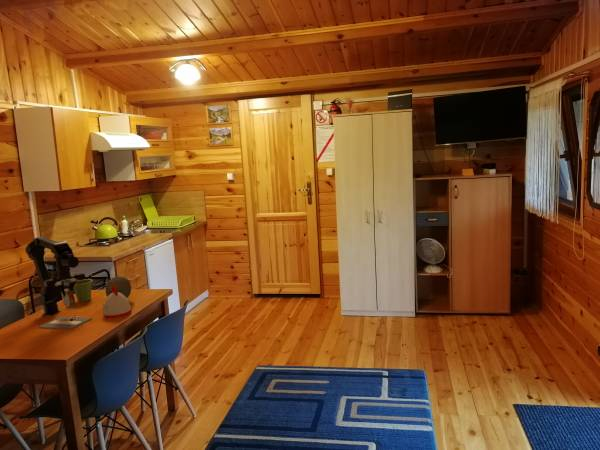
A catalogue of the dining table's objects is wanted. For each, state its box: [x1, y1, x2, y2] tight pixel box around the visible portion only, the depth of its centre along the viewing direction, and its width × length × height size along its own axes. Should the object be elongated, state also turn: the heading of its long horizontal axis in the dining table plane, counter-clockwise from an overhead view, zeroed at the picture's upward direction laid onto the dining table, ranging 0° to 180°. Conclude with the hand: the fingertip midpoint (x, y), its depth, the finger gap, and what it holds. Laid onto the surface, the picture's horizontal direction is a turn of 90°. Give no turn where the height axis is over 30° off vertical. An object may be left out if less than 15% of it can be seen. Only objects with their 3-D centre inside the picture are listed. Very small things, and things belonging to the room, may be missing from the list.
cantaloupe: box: [105, 276, 132, 299], centre depth 265 cm, size 14×14×15 cm
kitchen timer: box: [102, 286, 132, 319], centre depth 246 cm, size 14×14×15 cm
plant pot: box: [73, 278, 94, 303], centre depth 275 cm, size 12×12×11 cm
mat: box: [38, 316, 92, 330], centre depth 237 cm, size 20×14×1 cm
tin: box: [60, 288, 76, 308], centre depth 243 cm, size 15×3×8 cm, turn 42°
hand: (67, 295), depth 243 cm, fingers closed on tin, 3 cm apart
